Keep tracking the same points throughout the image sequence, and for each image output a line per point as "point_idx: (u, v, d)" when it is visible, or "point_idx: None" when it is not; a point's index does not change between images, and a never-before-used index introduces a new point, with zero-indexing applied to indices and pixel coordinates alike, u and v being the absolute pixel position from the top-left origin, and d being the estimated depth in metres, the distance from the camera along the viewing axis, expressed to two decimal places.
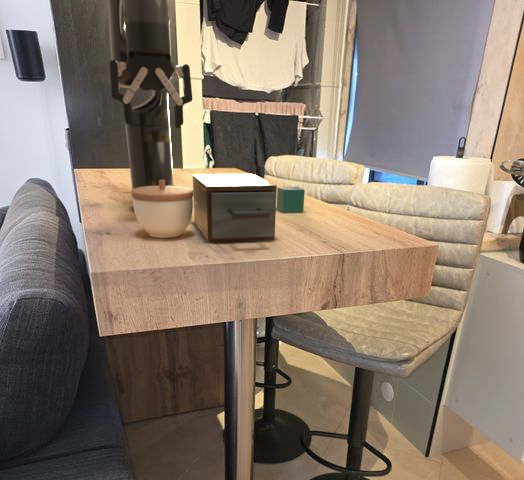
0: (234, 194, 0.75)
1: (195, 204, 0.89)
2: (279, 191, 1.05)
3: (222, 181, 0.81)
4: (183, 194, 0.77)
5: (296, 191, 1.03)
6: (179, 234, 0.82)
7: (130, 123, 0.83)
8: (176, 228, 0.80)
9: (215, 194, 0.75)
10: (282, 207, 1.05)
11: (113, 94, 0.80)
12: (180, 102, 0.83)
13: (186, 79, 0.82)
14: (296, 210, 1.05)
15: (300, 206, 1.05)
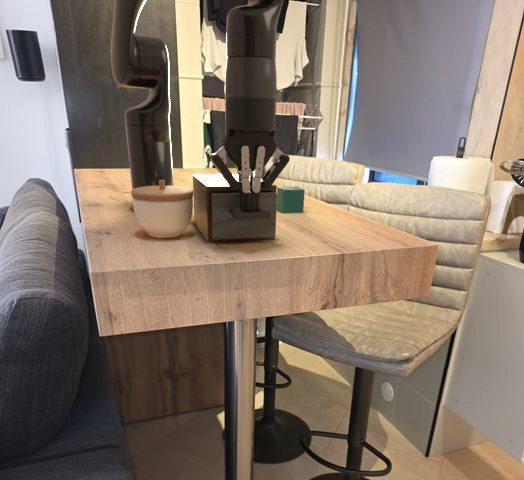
0: (235, 194, 0.75)
1: (195, 204, 0.89)
2: (279, 191, 1.05)
3: (222, 181, 0.81)
4: (183, 194, 0.77)
5: (296, 191, 1.03)
6: (179, 234, 0.82)
7: None
8: (176, 228, 0.80)
9: (216, 194, 0.74)
10: (282, 207, 1.05)
11: (233, 185, 0.71)
12: (257, 189, 0.72)
13: (278, 167, 0.71)
14: (296, 210, 1.05)
15: (300, 206, 1.05)
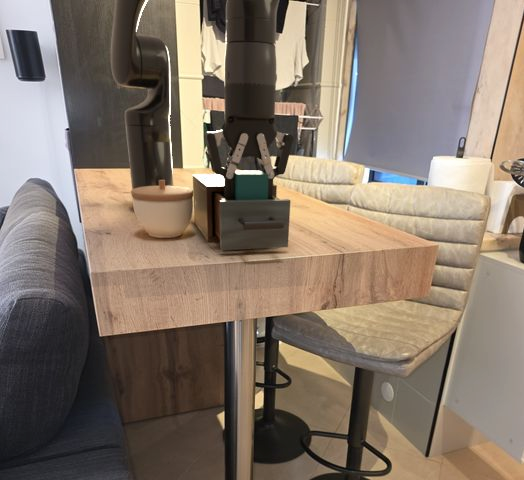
0: (245, 202, 0.69)
1: (195, 204, 0.89)
2: (233, 177, 0.72)
3: (222, 181, 0.81)
4: (183, 194, 0.77)
5: (256, 176, 0.70)
6: (179, 234, 0.82)
7: (232, 199, 0.72)
8: (176, 228, 0.80)
9: (224, 202, 0.68)
10: None
11: (216, 170, 0.69)
12: (271, 175, 0.72)
13: (285, 150, 0.71)
14: None
15: (262, 198, 0.72)
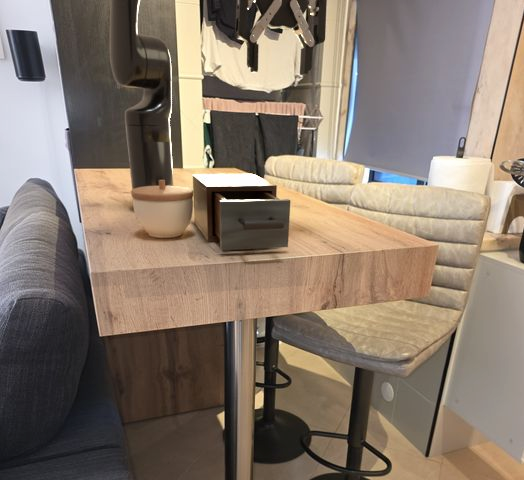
0: (245, 202, 0.69)
1: (195, 204, 0.89)
2: None
3: (222, 181, 0.81)
4: (183, 194, 0.77)
5: None
6: (179, 234, 0.82)
7: (255, 66, 0.72)
8: (176, 228, 0.80)
9: (224, 202, 0.68)
10: None
11: (240, 30, 0.69)
12: (312, 42, 0.72)
13: (321, 15, 0.71)
14: None
15: None
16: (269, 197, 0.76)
